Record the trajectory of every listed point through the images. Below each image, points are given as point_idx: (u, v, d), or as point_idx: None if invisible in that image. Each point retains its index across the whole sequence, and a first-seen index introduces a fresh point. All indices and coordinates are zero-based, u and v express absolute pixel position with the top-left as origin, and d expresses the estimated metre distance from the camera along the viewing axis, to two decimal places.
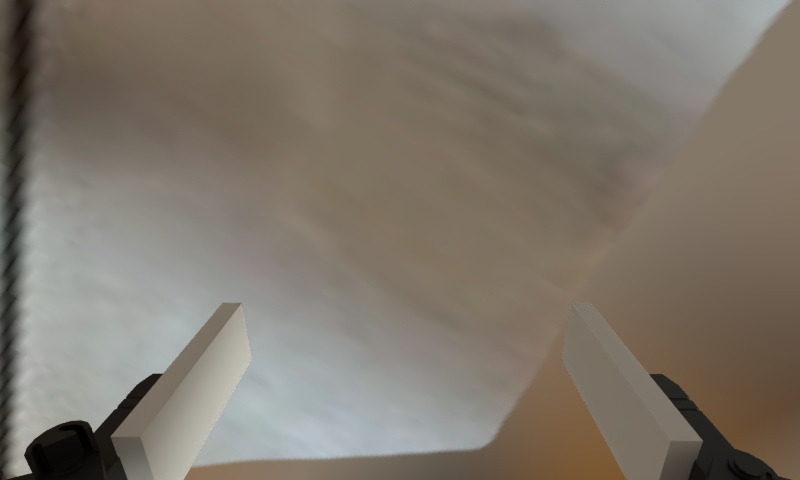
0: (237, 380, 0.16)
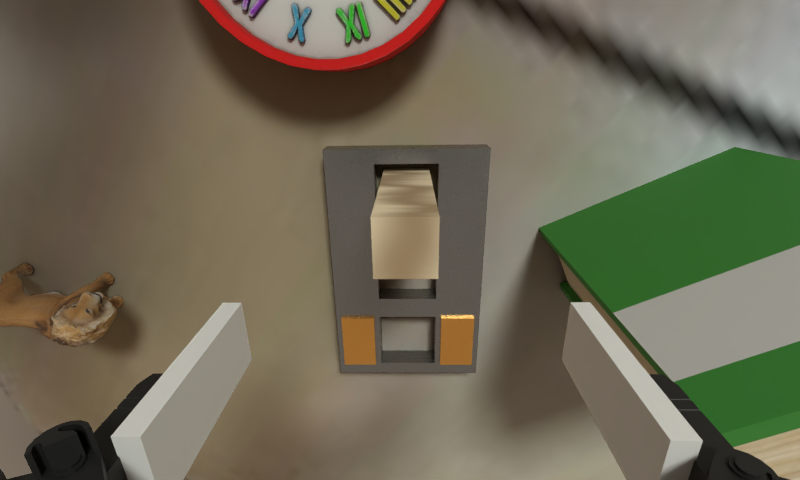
0: (237, 380, 0.16)
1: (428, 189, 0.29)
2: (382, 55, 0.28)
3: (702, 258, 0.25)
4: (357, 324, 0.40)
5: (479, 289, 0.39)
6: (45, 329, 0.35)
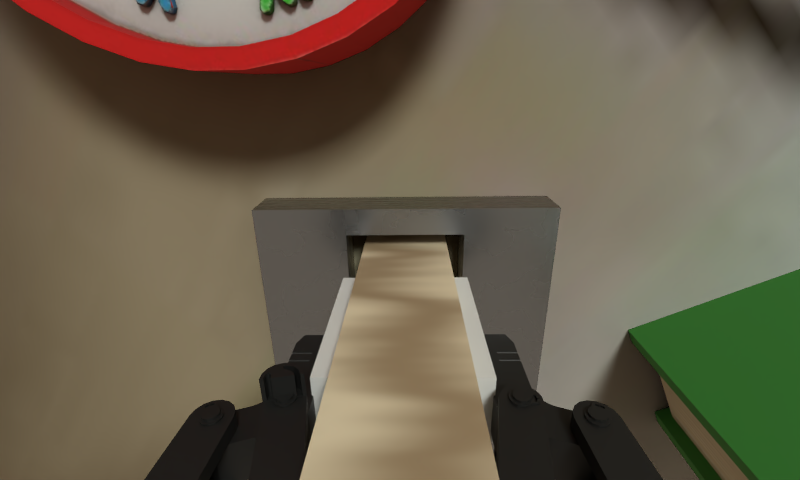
0: None
1: (451, 313, 0.14)
2: (338, 37, 0.13)
3: None
4: None
5: None
6: None
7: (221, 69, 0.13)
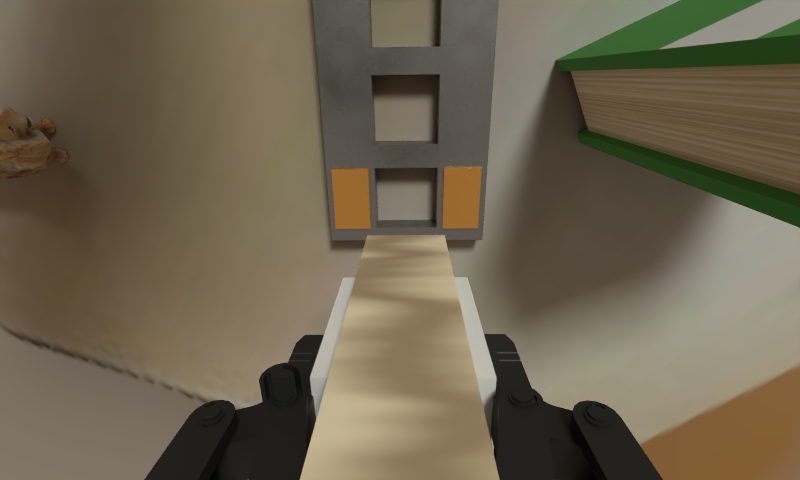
0: None
1: (451, 314, 0.14)
2: None
3: None
4: (349, 176, 0.35)
5: (487, 131, 0.34)
6: None
7: None
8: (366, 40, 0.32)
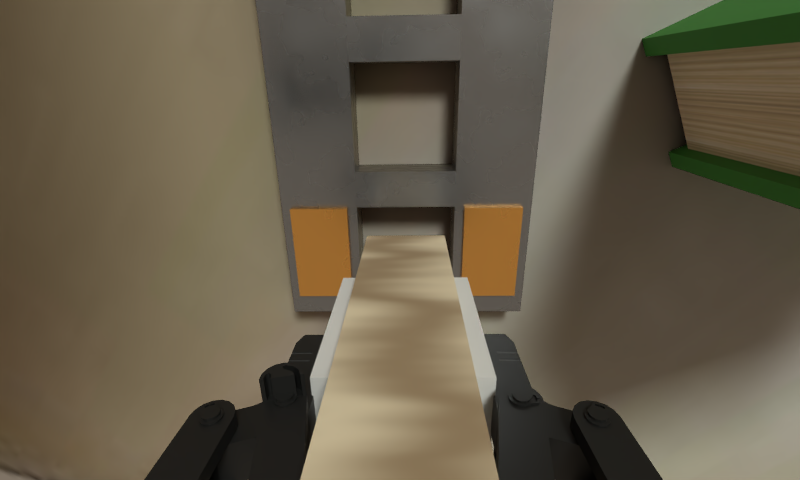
0: None
1: (451, 315, 0.14)
2: None
3: None
4: (318, 220, 0.23)
5: (534, 151, 0.22)
6: None
7: None
8: (340, 4, 0.19)
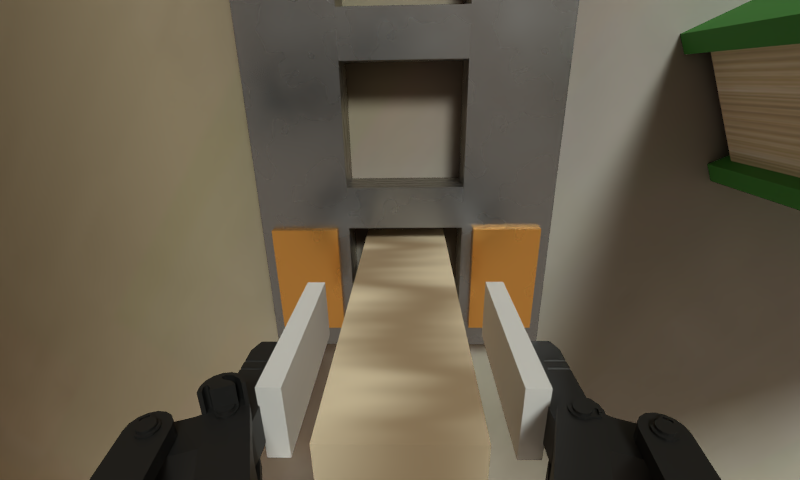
0: (323, 352, 0.17)
1: (448, 299, 0.15)
2: None
3: None
4: (304, 243, 0.20)
5: (554, 164, 0.19)
6: None
7: None
8: None
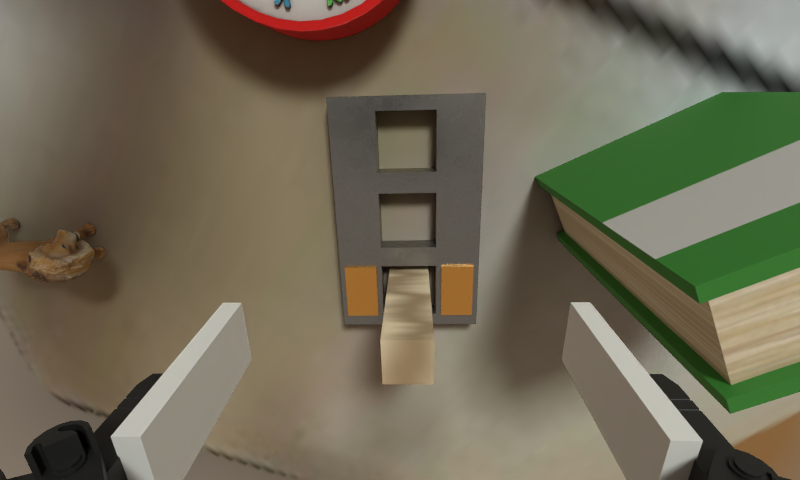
0: (237, 380, 0.16)
1: (426, 299, 0.36)
2: (361, 14, 0.30)
3: (686, 172, 0.26)
4: (360, 273, 0.41)
5: (478, 237, 0.40)
6: (25, 267, 0.37)
7: (311, 30, 0.31)
8: (374, 167, 0.38)
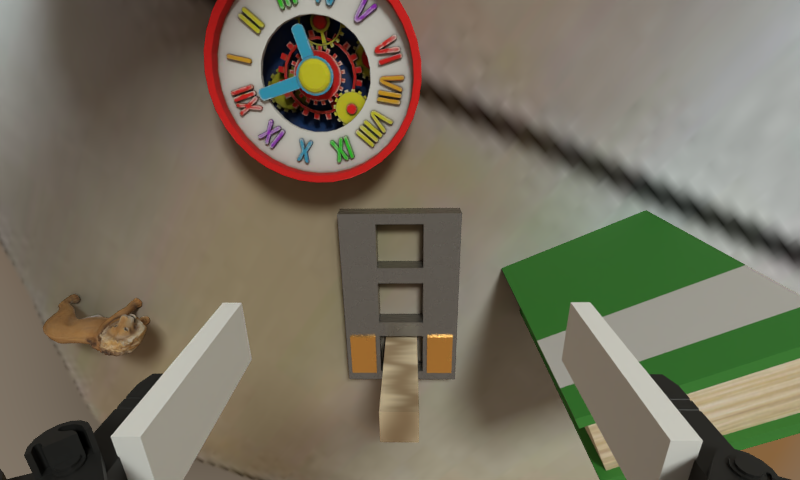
0: (237, 380, 0.16)
1: (414, 370, 0.47)
2: (363, 171, 0.41)
3: (599, 303, 0.37)
4: (362, 341, 0.52)
5: (456, 315, 0.50)
6: (95, 344, 0.47)
7: (325, 181, 0.41)
8: (374, 264, 0.48)
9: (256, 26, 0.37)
